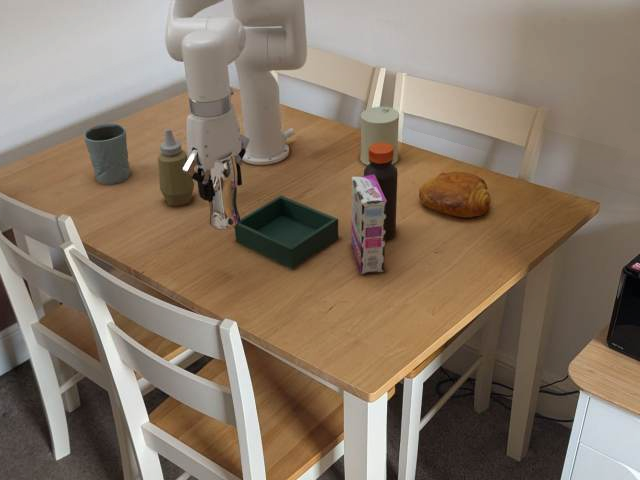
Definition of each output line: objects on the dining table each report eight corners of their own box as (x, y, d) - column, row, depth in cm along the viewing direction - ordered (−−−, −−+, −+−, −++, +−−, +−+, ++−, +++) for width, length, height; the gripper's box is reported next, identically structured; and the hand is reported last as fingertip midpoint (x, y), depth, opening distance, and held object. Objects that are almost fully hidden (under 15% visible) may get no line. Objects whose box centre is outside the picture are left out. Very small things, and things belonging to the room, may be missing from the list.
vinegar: (387, 245, 167) (389, 158, 155) (358, 237, 170) (358, 152, 158) (400, 229, 171) (403, 143, 159) (371, 222, 175) (372, 137, 162)
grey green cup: (86, 183, 199) (75, 138, 192) (106, 164, 207) (97, 121, 199) (121, 187, 196) (112, 142, 189) (140, 168, 203) (132, 124, 196)
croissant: (468, 236, 171) (475, 205, 165) (407, 206, 178) (412, 176, 173) (502, 205, 179) (510, 176, 173) (442, 178, 186) (448, 149, 180)
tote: (282, 213, 180) (280, 195, 177) (338, 238, 171) (338, 218, 168) (235, 241, 173) (233, 222, 170) (292, 269, 163) (291, 249, 160)
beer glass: (247, 214, 160) (240, 145, 150) (235, 232, 155) (227, 162, 145) (214, 210, 162) (206, 142, 152) (202, 229, 157) (192, 159, 147)
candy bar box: (385, 272, 159) (387, 200, 149) (361, 275, 159) (361, 203, 149) (374, 242, 168) (375, 172, 158) (350, 245, 168) (350, 175, 158)
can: (404, 154, 198) (406, 108, 191) (388, 170, 192) (389, 123, 185) (370, 147, 202) (370, 102, 195) (353, 163, 196) (353, 117, 189)
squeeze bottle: (191, 209, 185) (180, 138, 174) (158, 208, 187) (145, 137, 175) (200, 192, 191) (190, 121, 180) (167, 191, 193) (155, 121, 182)
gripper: (230, 83, 150) (239, 168, 161) (160, 115, 140) (174, 203, 152) (259, 92, 145) (266, 179, 156) (188, 126, 136) (201, 216, 147)
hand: (221, 190), depth 154 cm, fingers closed on beer glass, 7 cm apart
